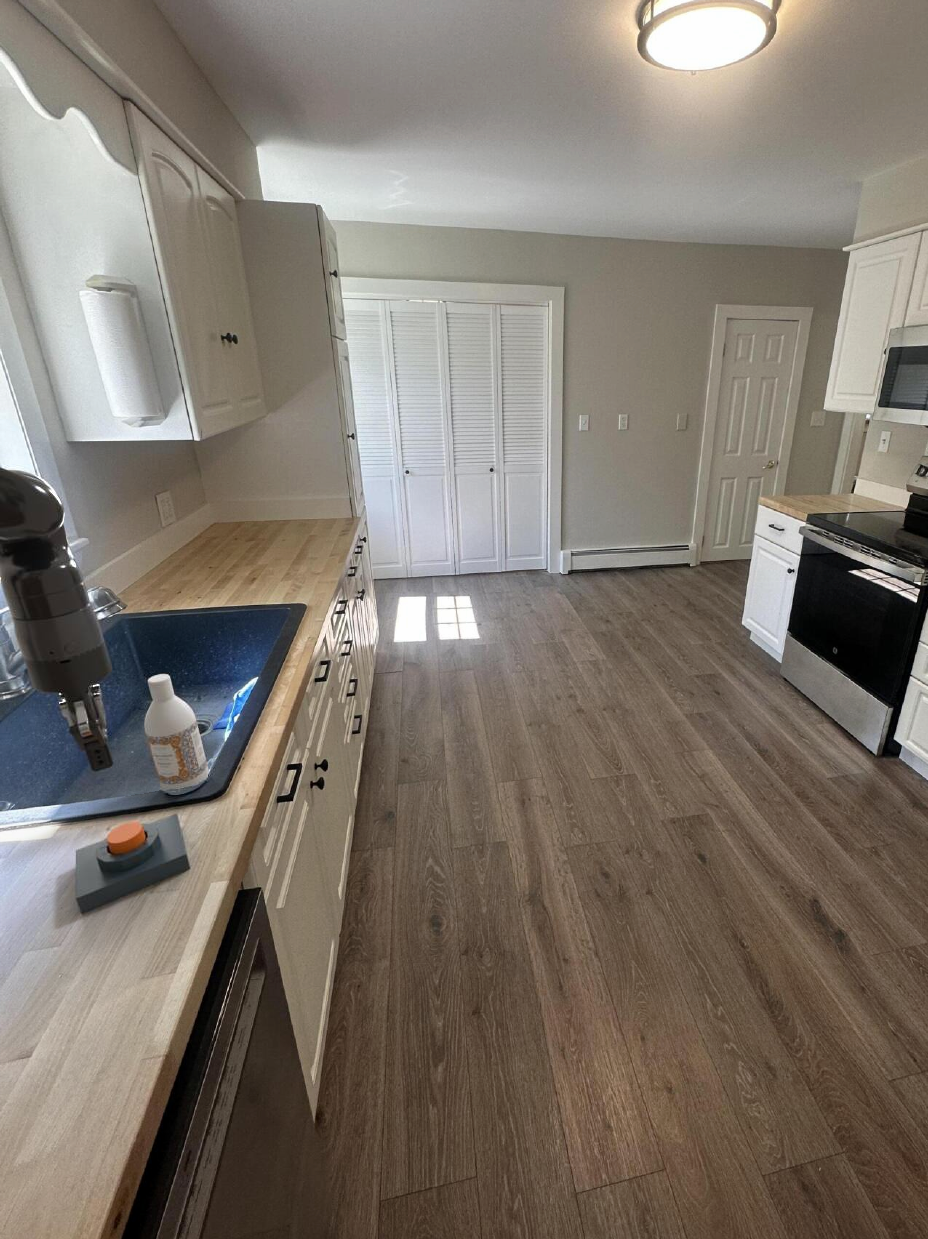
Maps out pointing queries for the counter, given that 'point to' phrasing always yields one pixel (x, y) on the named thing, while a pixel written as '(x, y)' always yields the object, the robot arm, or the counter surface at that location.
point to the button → (126, 838)
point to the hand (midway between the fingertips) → (103, 766)
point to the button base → (129, 865)
